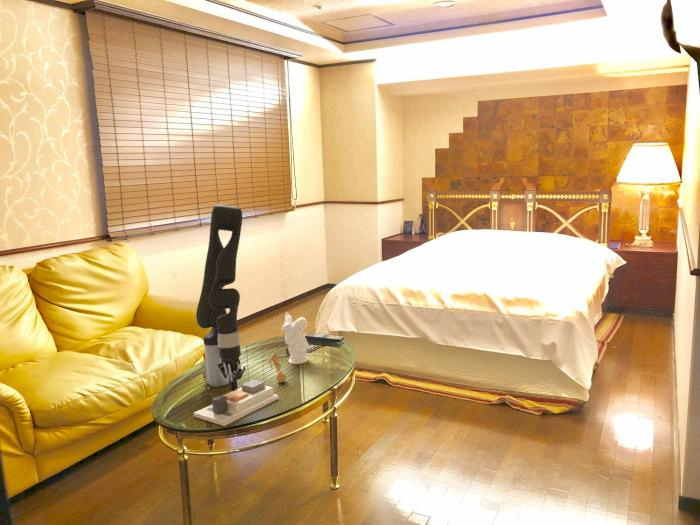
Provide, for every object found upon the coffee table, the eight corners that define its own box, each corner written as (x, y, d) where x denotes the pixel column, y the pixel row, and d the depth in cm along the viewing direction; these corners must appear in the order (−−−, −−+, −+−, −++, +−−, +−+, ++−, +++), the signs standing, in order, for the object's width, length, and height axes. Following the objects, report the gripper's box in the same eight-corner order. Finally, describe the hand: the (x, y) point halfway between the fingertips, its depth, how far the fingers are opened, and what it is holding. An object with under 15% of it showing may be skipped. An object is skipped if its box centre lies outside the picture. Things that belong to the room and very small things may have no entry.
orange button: (225, 404, 206) (224, 395, 206) (237, 398, 211) (236, 390, 211) (236, 407, 203) (235, 398, 202) (248, 401, 207) (247, 393, 207)
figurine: (280, 386, 225) (277, 357, 223) (267, 385, 228) (264, 356, 226) (291, 379, 232) (288, 350, 230) (279, 377, 235) (276, 349, 233)
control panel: (194, 416, 202) (192, 405, 201) (248, 391, 222) (247, 381, 222) (224, 426, 192) (222, 414, 192) (278, 398, 212) (277, 388, 212)
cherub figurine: (314, 361, 253) (310, 312, 250) (292, 369, 245) (288, 319, 241) (296, 355, 262) (292, 309, 258) (274, 363, 253) (270, 315, 249)
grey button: (242, 392, 213) (241, 384, 212) (254, 387, 217) (253, 379, 217) (253, 395, 209) (252, 387, 209) (265, 390, 214) (264, 382, 213)
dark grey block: (213, 412, 200) (211, 398, 199) (222, 408, 203) (220, 394, 202) (219, 414, 198) (217, 400, 197) (227, 410, 201) (226, 396, 200)
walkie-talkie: (296, 358, 260) (326, 346, 275) (295, 348, 259) (325, 337, 274) (283, 355, 266) (312, 343, 281) (282, 346, 265) (312, 334, 280)
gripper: (249, 343, 202) (254, 390, 205) (225, 338, 210) (229, 383, 213) (233, 349, 196) (237, 397, 199) (208, 344, 204) (213, 390, 207)
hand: (233, 390), depth 206 cm, fingers closed
